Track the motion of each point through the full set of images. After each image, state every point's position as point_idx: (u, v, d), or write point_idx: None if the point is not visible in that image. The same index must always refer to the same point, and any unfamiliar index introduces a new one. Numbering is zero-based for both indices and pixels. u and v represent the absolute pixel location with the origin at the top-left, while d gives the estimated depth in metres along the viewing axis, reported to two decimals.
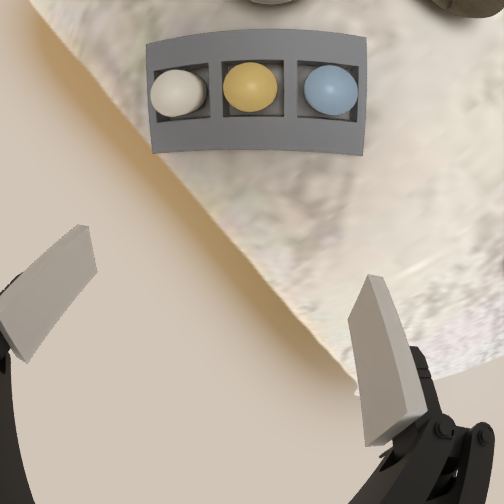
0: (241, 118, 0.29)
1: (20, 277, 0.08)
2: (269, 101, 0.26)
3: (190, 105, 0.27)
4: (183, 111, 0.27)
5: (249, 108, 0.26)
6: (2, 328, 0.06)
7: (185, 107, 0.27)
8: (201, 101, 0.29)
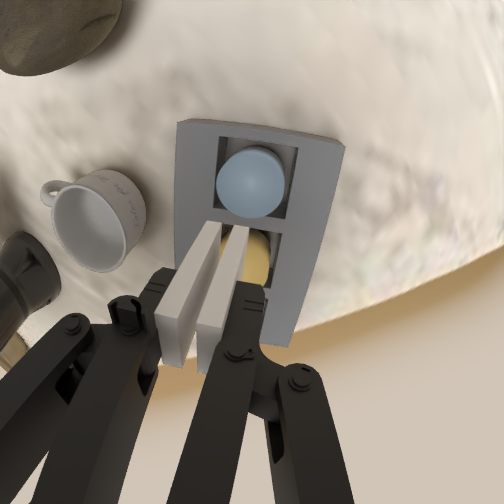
0: (275, 273, 0.30)
1: (178, 274, 0.10)
2: (258, 257, 0.26)
3: None
4: None
5: (264, 276, 0.27)
6: (168, 333, 0.08)
7: None
8: None
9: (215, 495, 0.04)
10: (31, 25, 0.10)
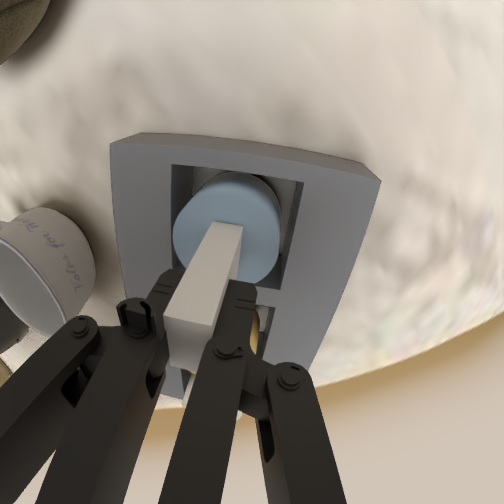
0: (266, 352, 0.21)
1: (186, 276, 0.10)
2: None
3: None
4: None
5: None
6: (176, 335, 0.08)
7: None
8: None
9: (207, 492, 0.04)
10: None
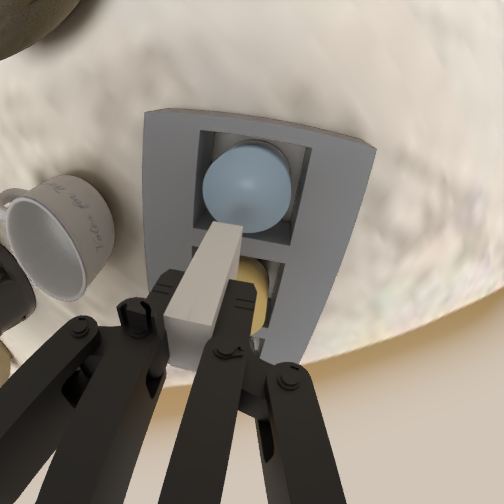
0: (275, 311, 0.23)
1: (187, 276, 0.10)
2: None
3: None
4: None
5: (259, 320, 0.20)
6: (177, 335, 0.08)
7: None
8: None
9: (206, 492, 0.04)
10: None
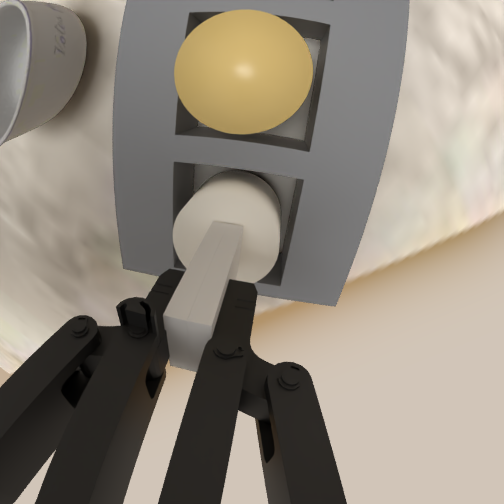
0: (321, 112, 0.12)
1: (186, 276, 0.10)
2: (289, 29, 0.08)
3: (263, 214, 0.13)
4: (273, 232, 0.14)
5: (302, 79, 0.09)
6: (176, 335, 0.08)
7: (265, 226, 0.13)
8: (261, 186, 0.15)
9: (207, 492, 0.04)
10: None
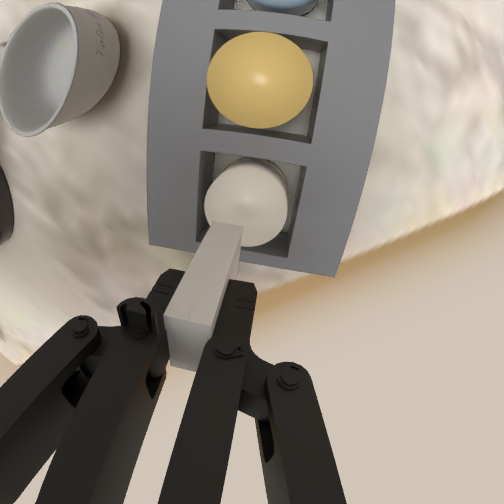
0: (320, 112, 0.15)
1: (187, 276, 0.10)
2: (295, 48, 0.11)
3: (275, 185, 0.17)
4: (282, 199, 0.18)
5: (305, 87, 0.12)
6: (177, 335, 0.08)
7: (276, 195, 0.18)
8: (273, 168, 0.19)
9: (206, 492, 0.04)
10: None
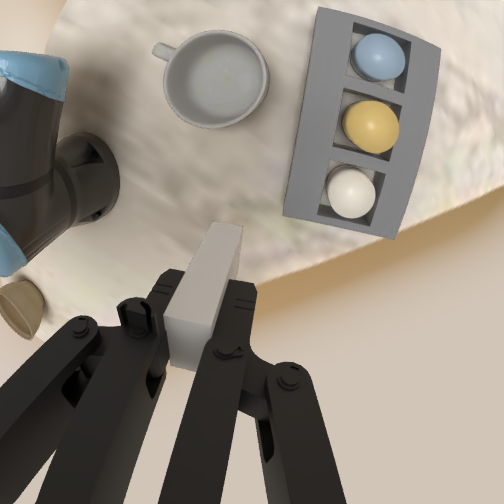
0: (395, 145, 0.27)
1: (187, 276, 0.10)
2: (392, 113, 0.23)
3: (370, 183, 0.29)
4: (373, 191, 0.29)
5: (395, 134, 0.24)
6: (176, 335, 0.08)
7: (370, 189, 0.29)
8: (363, 173, 0.31)
9: (206, 493, 0.04)
10: None
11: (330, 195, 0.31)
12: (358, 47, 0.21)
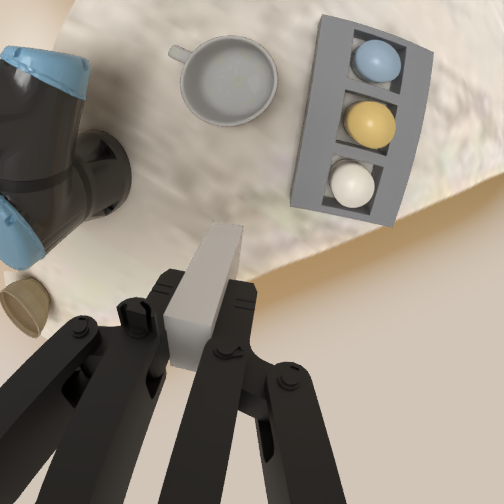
0: (391, 141, 0.30)
1: (187, 276, 0.10)
2: (389, 113, 0.26)
3: (370, 175, 0.32)
4: (372, 183, 0.32)
5: (392, 131, 0.27)
6: (176, 335, 0.08)
7: (370, 180, 0.32)
8: (362, 166, 0.34)
9: (206, 492, 0.04)
10: None
11: (333, 187, 0.33)
12: (358, 52, 0.24)
